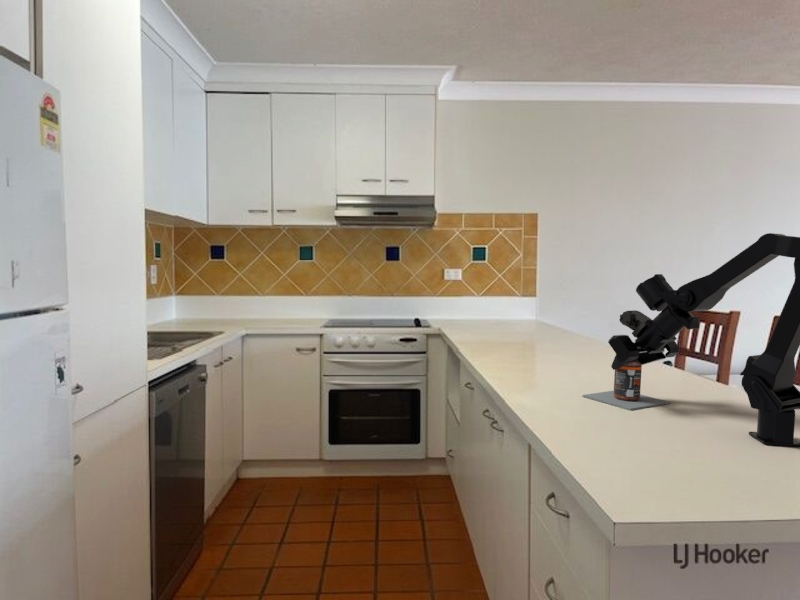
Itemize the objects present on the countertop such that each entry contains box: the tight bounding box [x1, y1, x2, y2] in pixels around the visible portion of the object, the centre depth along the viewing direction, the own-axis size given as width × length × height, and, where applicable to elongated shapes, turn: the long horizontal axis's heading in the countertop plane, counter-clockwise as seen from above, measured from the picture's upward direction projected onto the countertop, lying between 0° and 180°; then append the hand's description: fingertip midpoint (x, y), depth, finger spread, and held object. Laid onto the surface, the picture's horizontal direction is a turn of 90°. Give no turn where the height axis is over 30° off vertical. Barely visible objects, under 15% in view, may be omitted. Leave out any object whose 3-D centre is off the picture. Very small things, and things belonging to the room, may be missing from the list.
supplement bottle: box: [613, 358, 643, 401], centre depth 132 cm, size 6×6×11 cm
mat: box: [581, 390, 671, 411], centre depth 132 cm, size 14×14×1 cm
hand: (622, 367), depth 133 cm, fingers open, 6 cm apart
